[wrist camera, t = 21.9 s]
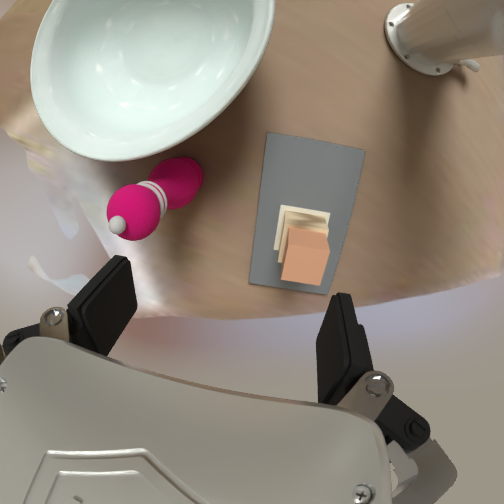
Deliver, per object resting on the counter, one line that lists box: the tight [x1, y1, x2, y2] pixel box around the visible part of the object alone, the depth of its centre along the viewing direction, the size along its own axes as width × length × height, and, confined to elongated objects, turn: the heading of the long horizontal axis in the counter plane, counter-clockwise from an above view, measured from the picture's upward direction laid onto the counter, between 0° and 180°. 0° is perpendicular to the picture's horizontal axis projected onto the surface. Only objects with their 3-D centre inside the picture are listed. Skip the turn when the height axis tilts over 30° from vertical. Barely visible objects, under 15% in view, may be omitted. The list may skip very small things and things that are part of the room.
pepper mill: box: [107, 157, 203, 241], centre depth 32 cm, size 7×7×20 cm
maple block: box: [278, 210, 329, 263], centre depth 39 cm, size 6×6×5 cm
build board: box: [249, 132, 365, 295], centre depth 41 cm, size 14×25×1 cm, turn 174°
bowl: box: [30, 0, 275, 162], centre depth 24 cm, size 32×32×15 cm
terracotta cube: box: [281, 227, 330, 286], centre depth 35 cm, size 5×5×5 cm
